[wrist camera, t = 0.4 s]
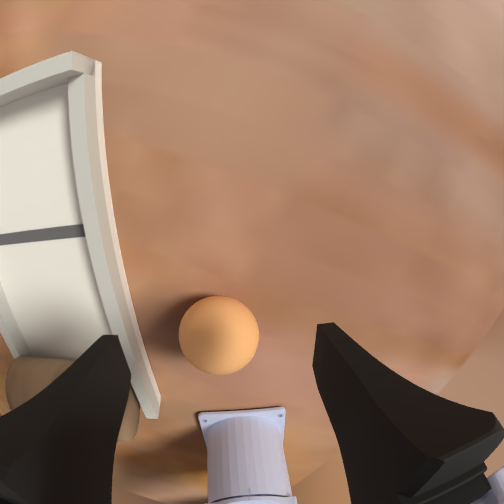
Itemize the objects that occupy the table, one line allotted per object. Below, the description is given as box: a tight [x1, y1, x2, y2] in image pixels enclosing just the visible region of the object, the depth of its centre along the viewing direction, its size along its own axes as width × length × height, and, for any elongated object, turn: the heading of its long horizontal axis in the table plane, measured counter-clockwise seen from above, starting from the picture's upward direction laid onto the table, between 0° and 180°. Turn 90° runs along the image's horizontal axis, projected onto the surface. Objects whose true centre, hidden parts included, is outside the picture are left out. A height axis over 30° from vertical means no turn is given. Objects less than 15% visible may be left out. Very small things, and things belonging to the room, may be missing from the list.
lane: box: [0, 51, 161, 419], centre depth 17 cm, size 26×12×4 cm, turn 2°
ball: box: [179, 296, 259, 375], centre depth 19 cm, size 5×5×5 cm
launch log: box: [6, 355, 140, 442], centre depth 19 cm, size 6×10×6 cm, turn 92°
